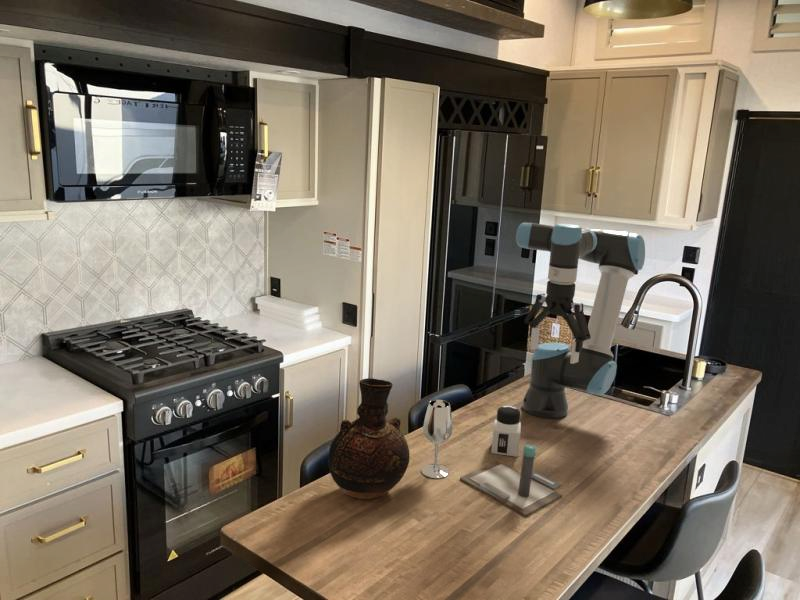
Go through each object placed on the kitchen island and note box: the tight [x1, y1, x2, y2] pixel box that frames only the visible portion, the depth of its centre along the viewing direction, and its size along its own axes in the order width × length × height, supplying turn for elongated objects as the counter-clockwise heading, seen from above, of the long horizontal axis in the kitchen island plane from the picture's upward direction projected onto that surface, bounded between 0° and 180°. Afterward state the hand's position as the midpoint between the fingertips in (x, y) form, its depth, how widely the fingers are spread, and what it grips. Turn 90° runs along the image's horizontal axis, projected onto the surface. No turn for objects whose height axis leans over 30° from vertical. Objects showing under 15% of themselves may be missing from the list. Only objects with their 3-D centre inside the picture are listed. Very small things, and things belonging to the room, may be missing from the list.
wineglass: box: [420, 399, 453, 479], centre depth 174 cm, size 8×8×20 cm
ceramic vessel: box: [327, 377, 410, 500], centre depth 161 cm, size 21×18×30 cm
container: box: [491, 405, 522, 458], centre depth 189 cm, size 8×8×13 cm
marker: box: [518, 444, 537, 497], centre depth 164 cm, size 3×3×13 cm
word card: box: [531, 470, 563, 491], centre depth 174 cm, size 4×9×1 cm, turn 41°
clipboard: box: [459, 461, 563, 518], centre depth 169 cm, size 15×22×2 cm
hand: (553, 355), depth 181 cm, fingers open, 13 cm apart
